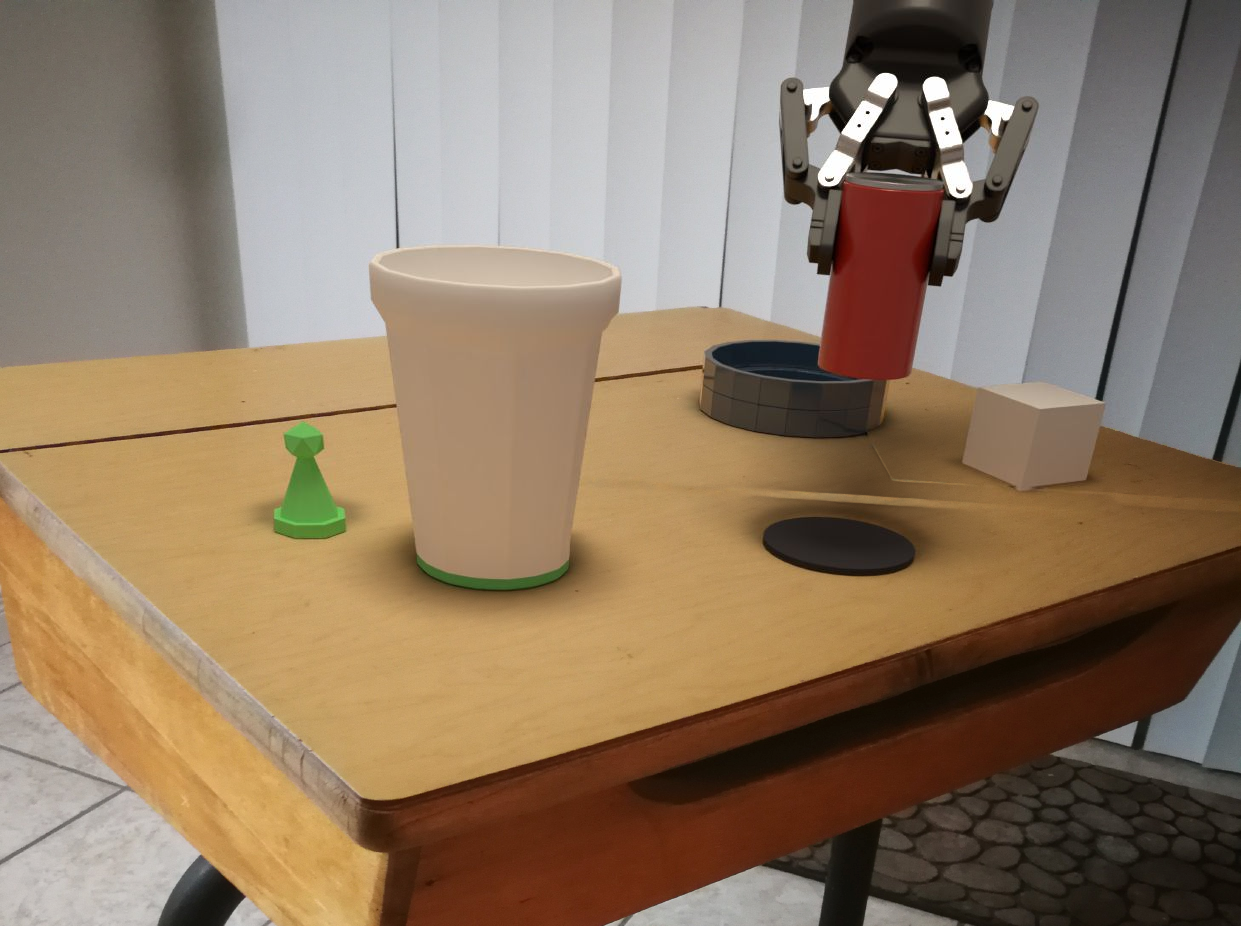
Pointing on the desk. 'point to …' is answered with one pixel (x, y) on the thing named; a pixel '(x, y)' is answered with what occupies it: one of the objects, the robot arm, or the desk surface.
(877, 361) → the can
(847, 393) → the dish
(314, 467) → the game piece
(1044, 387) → the beige cube
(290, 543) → the desk surface
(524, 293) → the cup
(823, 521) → the coaster
